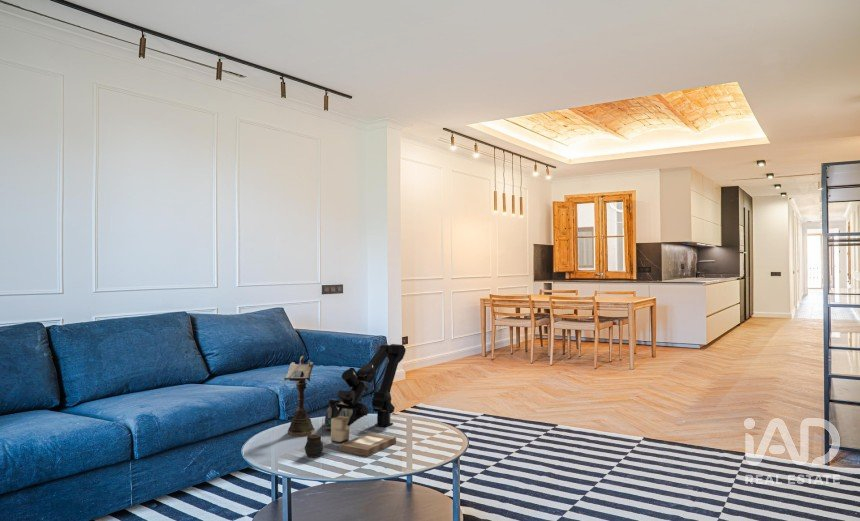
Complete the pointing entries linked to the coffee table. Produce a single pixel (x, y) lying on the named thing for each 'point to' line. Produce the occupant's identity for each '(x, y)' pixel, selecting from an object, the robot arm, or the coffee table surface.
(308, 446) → the mate gourd
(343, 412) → the toy van
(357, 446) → the loading dock
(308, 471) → the coffee table surface
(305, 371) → the book stand
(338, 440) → the tan rectangular block
